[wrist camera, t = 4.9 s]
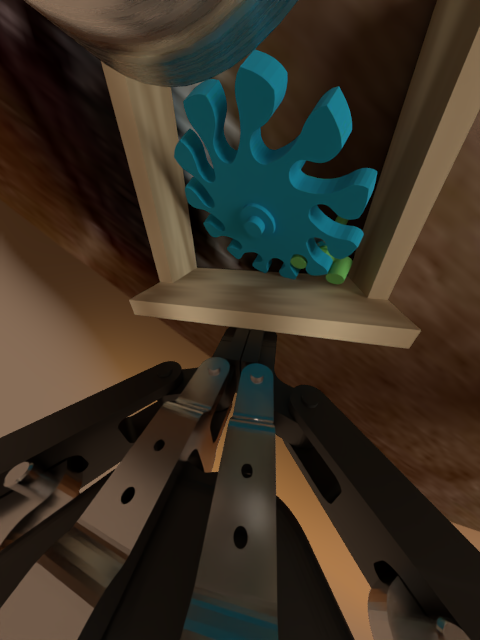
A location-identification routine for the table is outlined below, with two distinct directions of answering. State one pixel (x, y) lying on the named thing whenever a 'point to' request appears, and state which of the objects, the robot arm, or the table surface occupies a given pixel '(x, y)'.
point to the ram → (167, 34)
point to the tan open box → (381, 223)
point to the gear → (273, 176)
